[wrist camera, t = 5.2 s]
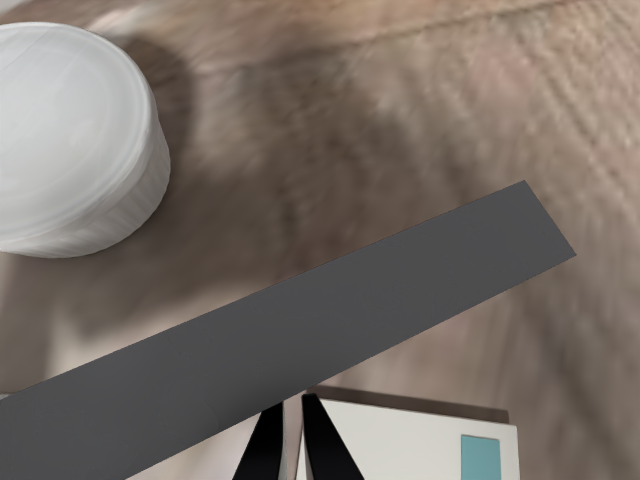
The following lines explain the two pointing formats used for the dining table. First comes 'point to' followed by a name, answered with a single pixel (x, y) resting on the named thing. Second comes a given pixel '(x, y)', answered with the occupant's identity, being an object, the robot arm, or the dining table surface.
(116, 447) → the bar
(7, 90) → the ramekin
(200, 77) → the dining table surface
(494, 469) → the label plate
